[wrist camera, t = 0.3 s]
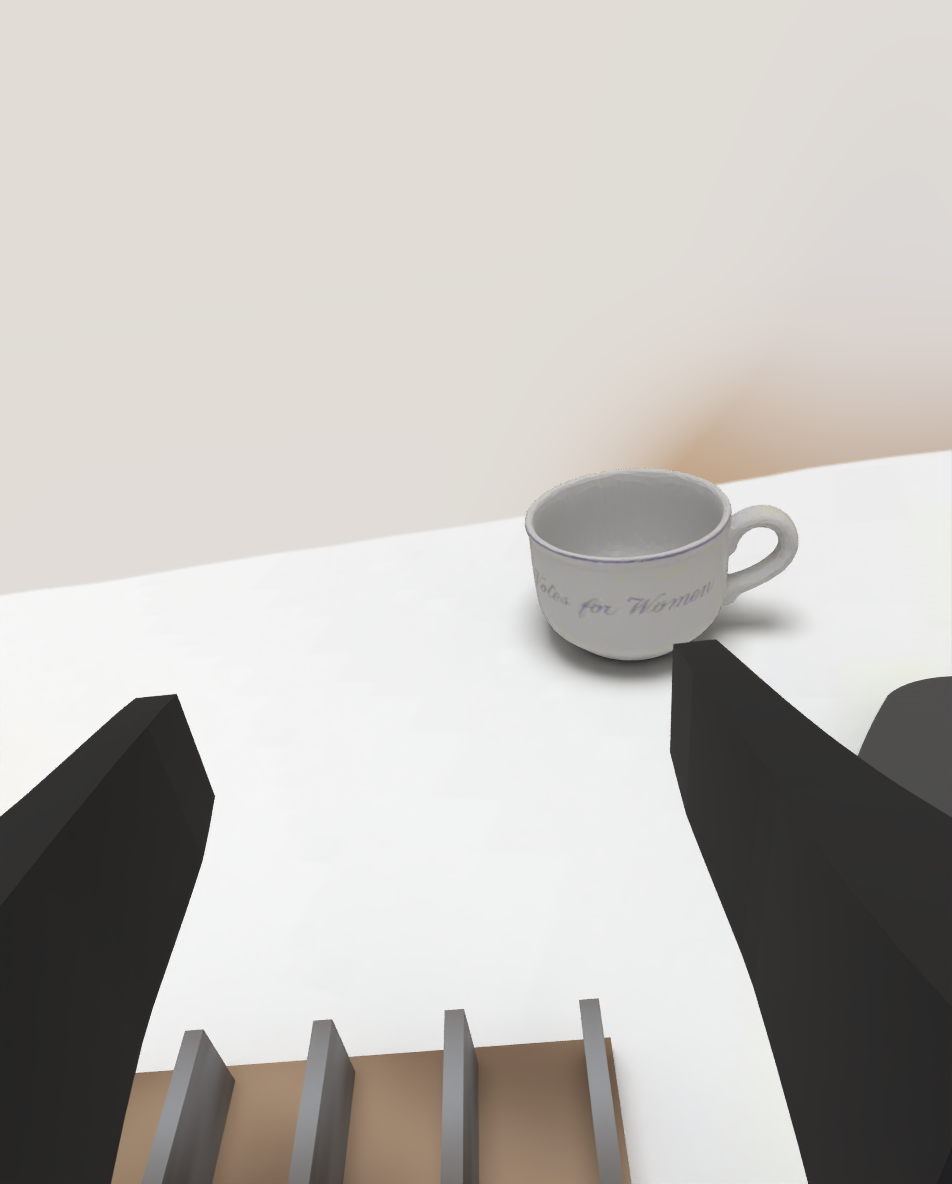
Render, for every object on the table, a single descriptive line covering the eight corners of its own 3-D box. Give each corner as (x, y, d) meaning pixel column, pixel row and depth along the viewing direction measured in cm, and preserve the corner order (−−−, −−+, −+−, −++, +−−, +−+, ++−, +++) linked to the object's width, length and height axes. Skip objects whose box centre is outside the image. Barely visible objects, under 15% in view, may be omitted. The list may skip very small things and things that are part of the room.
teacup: (511, 669, 45) (493, 547, 41) (570, 565, 53) (561, 453, 48) (774, 714, 39) (787, 579, 35) (796, 590, 47) (809, 467, 43)
